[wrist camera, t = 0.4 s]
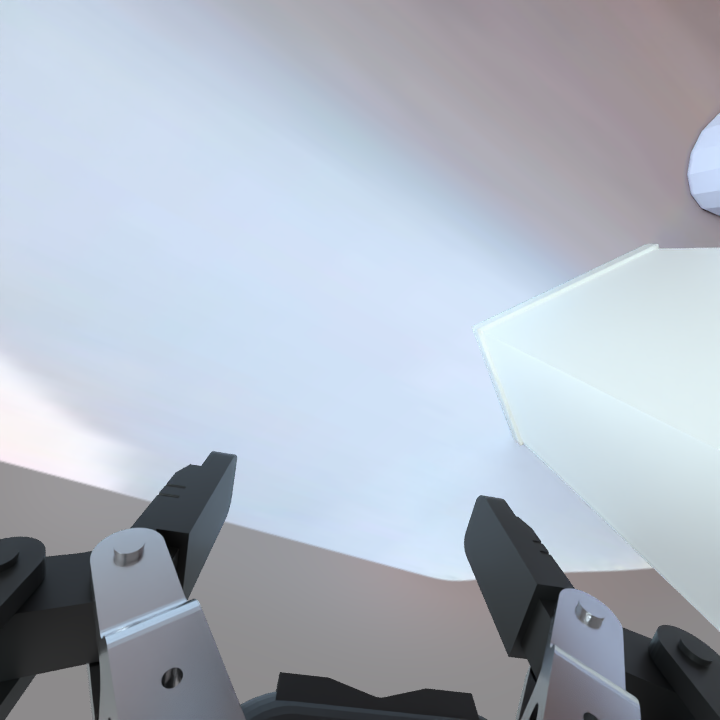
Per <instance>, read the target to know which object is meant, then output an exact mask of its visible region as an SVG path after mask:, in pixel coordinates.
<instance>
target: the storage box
mask: <svg viewBox="0 0 720 720" xmlns="http://www.w3.org/2000/svg"><path fill="white" fill-rule="evenodd" d="M472 329H473V332H474V335H475V337H476V340H477V343H478V345H479V348H480V351H481V353H482V356H483V358H484V361H485V364H486V366H487V369H488V372H489V374H490V377H491V380H492V382H493V385H494V388H495V390H496V393H497V396H498V398H499V401H500V403H501V406H502V409H503V411H504V414H505V417H506V419H507V422H508V425H509V427H510V430H511V433H512V435H513V438H514V440H515V441H516V442H517V443H518V444H519V445H520V446H521V445H523V444H525V445H526V446H527V447H528V448H529V449H530V450H531V451H532V452H533V453H534V454H535V455H536V456H537V457H538V458H540V459H541V460H542V461H543V462H544V463H545V464H546V465H547V466H548V467H549V468H550V469H551V470H552V471H553V472H554V473H555V474H556V475H557V476H558V477H559V478H560V479H561V480H562V481H563V482H564V483H566V484H567V485H568V486H569V487H570V488H571V489H572V490H573V491H574V492H575V493H576V494H577V495H578V496H579V497H580V498H581V499H582V500H583V501H584V502H585V503H586V504H587V505H588V506H589V507H591V508H592V509H593V510H594V511H595V512H596V513H597V514H598V515H599V516H600V517H601V518H602V519H603V520H604V521H605V522H606V523H607V524H608V525H609V526H610V527H611V528H612V529H613V530H614V531H615V532H617V533H618V534H619V535H620V536H621V537H622V538H623V539H624V540H625V541H626V542H627V543H628V544H629V545H630V546H631V547H632V548H633V549H634V550H635V551H636V552H637V553H638V554H639V555H640V556H641V557H643V558H644V559H645V560H646V561H647V562H648V563H649V564H650V565H651V566H652V567H653V568H654V569H655V570H656V571H657V572H658V573H659V574H660V575H661V576H662V577H663V578H665V580H667V581H668V582H669V583H670V584H671V585H672V586H673V587H674V588H675V589H676V590H677V591H678V592H679V593H680V594H681V595H682V596H683V597H684V598H685V599H686V600H687V601H688V602H689V603H690V604H692V605H693V606H694V607H695V608H696V609H697V610H698V611H699V612H700V613H701V614H702V615H703V616H704V617H705V618H706V619H707V620H708V621H709V622H710V623H711V624H712V625H713V626H714V627H715V628H716V629H718V630H719V631H720V248H665V249H659V246H658V244H645V245H643V246H641V247H639V248H637V249H635V250H632V251H630V252H628V253H626V254H624V255H622V256H620V257H618V258H616V259H613V260H611V261H609V262H607V263H605V264H603V265H601V266H599V267H597V268H594V269H592V270H590V271H588V272H586V273H584V274H582V275H580V276H578V277H575V278H573V279H571V280H569V281H567V282H565V283H563V284H561V285H559V286H556V287H554V288H552V289H550V290H548V291H546V292H544V293H542V294H540V295H537V296H535V297H533V298H531V299H529V300H527V301H525V302H523V303H521V304H518V305H516V306H514V307H512V308H510V309H508V310H506V311H504V312H502V313H500V314H497V315H495V316H493V317H491V318H489V319H487V320H485V321H483V322H481V323H478V324H476V325H474V326H472Z"/></svg>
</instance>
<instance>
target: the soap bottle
mask: <svg viewBox="0 0 720 720" xmlns="http://www.w3.org/2000/svg"><path fill="white" fill-rule="evenodd" d="M687 176H688V181H689V186H690V191H691V195H692V196H693V197H694V199H695V200H696V202H697V203H698V204H699V206H700V207H701V208H703V209H705V210H707V211H709V212H712V213H714V214H716V215H719V216H720V113H719V114H718V115H717V116H716V117H715V118H714V119H713V120H712V121H711V122H710V123H709V124H708V125H707V126H706V127H705V129H704V130H703V131H702V132H701V134H700V136H699V138H698V140H697V142H696V144H695V146H694V148H693V150H692V152H691V155H690V161H689V168H688V174H687Z"/></svg>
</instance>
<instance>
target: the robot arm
mask: <svg viewBox="0 0 720 720" xmlns="http://www.w3.org/2000/svg"><path fill="white" fill-rule="evenodd" d="M236 462H237V456H236V455H233V454H227V453H221V452H215V451H212V452H211V453H210V455H209V456H208V457H207V459H206V460H205V462H204V463H203V464H202V466H197V465H191V464H190V465H188V466H187V467H185V468H183V469H181V470H180V471H178V472H176V473H175V474H174V475H173V477H172V478H171V479H170V480H169V482H168V483H167V485H166V486H164V488H163V489H162V490H161V491H160V493H159V495H157V496H156V497H155V499H154V500H153V501H152V502H151V504H150V505H149V506H148V507H147V509H146V510H145V511H144V512H143V513H142V515H141V516H140V517H139V518H138V519H137V521H136V522H135V523H134V525H133V526H132V527H131V528H130V529H126V530H122V531H118V532H116V533H114V534H112V535H110V536H108V537H106V538H105V539H103V540H102V541H101V542H100V543H98V544H97V546H96V547H95V548H94V550H93V551H90V552H85V553H77V554H69V555H58V556H49V557H46V556H45V553H46V552H45V546H44V544H43V543H42V542H41V541H39V540H37V539H34V538H29V537H11V538H4V539H0V720H5V719H6V717H7V716H8V714H9V713H10V711H11V710H12V709H13V707H14V706H15V704H16V703H17V701H18V700H19V698H20V697H21V696H22V694H23V693H24V691H25V690H26V688H27V687H28V685H29V684H30V683H31V681H32V679H33V678H34V677H35V675H36V674H40V673H45V672H50V671H55V670H59V669H64V668H69V667H74V666H79V665H84V664H87V673H88V683H89V693H90V703H91V713H92V720H487V719H485V718H484V717H482V716H479V715H478V714H477V710H476V707H475V703H474V700H473V697H472V694H471V693H462V692H453V691H444V690H435V689H422V690H417V691H412V692H407V693H403V694H398V695H393V696H389V697H384V698H379V697H375V696H372V695H369V694H367V693H365V692H362V691H360V690H357V689H355V688H353V687H350V686H348V685H345V684H343V683H340V682H338V681H336V680H333V679H331V678H327V677H318V676H309V675H300V674H290V673H282V672H280V674H279V679H278V684H277V689H276V692H272V693H268V694H264V695H261V696H259V697H255V698H253V699H251V700H249V701H247V702H245V703H243V704H241V705H240V703H239V701H238V698H237V696H236V693H235V691H234V688H233V686H232V683H231V681H230V678H229V676H228V673H227V671H226V668H225V666H224V663H223V661H222V658H221V656H220V653H219V651H218V648H217V646H216V643H215V640H214V638H213V635H212V633H211V630H210V628H209V625H208V623H207V620H206V618H205V615H204V613H203V610H202V608H201V606H200V604H199V602H198V601H197V600H196V599H192V600H190V601H187V600H188V598H189V596H190V594H191V591H192V589H193V587H194V585H195V583H196V581H197V578H198V577H199V574H200V572H201V570H202V568H203V566H204V564H205V561H206V560H207V557H208V555H209V553H210V551H211V549H212V547H213V544H214V543H215V540H216V538H217V536H218V534H219V532H220V530H221V528H222V526H223V523H224V521H225V519H226V517H227V514H228V511H229V507H230V503H231V498H232V491H233V484H234V477H235V470H236ZM464 548H465V553H466V556H467V559H468V561H469V563H470V566H471V568H472V571H473V573H474V575H475V578H476V580H477V582H478V585H479V587H480V590H481V592H482V594H483V597H484V599H485V601H486V604H487V606H488V609H489V611H490V613H491V616H492V618H493V620H494V623H495V625H496V628H497V630H498V632H499V635H500V637H501V639H502V642H503V644H504V647H505V649H506V651H507V654H508V656H509V657H515V658H524V659H527V660H528V662H529V664H530V667H529V669H528V672H527V674H526V677H525V681H524V686H523V690H522V694H521V698H520V703H519V707H518V712H517V715H516V720H720V656H719V655H718V654H717V653H716V652H715V651H714V650H713V649H711V648H710V647H709V646H707V645H706V644H705V643H704V642H702V641H701V640H699V639H698V638H696V637H695V636H693V635H692V634H690V633H688V632H686V631H684V630H682V629H680V628H677V627H674V626H670V625H662V626H659V627H658V629H657V631H656V633H655V635H654V637H653V639H651V638H648V637H645V636H643V635H640V634H638V633H635V632H633V631H630V630H628V629H625V628H623V627H622V626H621V624H620V622H619V620H618V619H617V617H616V616H615V615H614V613H613V612H612V611H611V610H610V609H609V608H608V607H607V606H606V605H604V604H603V603H602V602H601V601H599V600H598V599H596V598H595V597H593V596H591V595H589V594H588V593H586V592H583V591H581V590H577V589H575V588H574V587H573V585H572V584H571V583H570V581H569V580H568V578H567V577H566V576H565V574H564V573H563V571H562V570H561V569H560V567H559V566H558V564H557V563H556V562H555V560H554V559H553V557H552V556H551V555H549V552H548V550H547V549H546V548H545V546H544V545H543V544H541V541H540V539H539V538H538V536H537V535H536V534H535V532H534V531H533V529H532V528H531V527H529V526H528V525H527V524H526V523H525V522H524V521H522V520H521V519H520V518H519V517H516V516H515V514H514V513H513V511H512V510H511V509H510V507H509V506H508V504H507V503H506V501H505V500H504V499H501V498H495V497H488V496H482V495H481V496H479V497H478V498H477V500H476V502H475V505H474V508H473V512H472V515H471V518H470V521H469V524H468V527H467V530H466V534H465V539H464Z"/></svg>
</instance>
